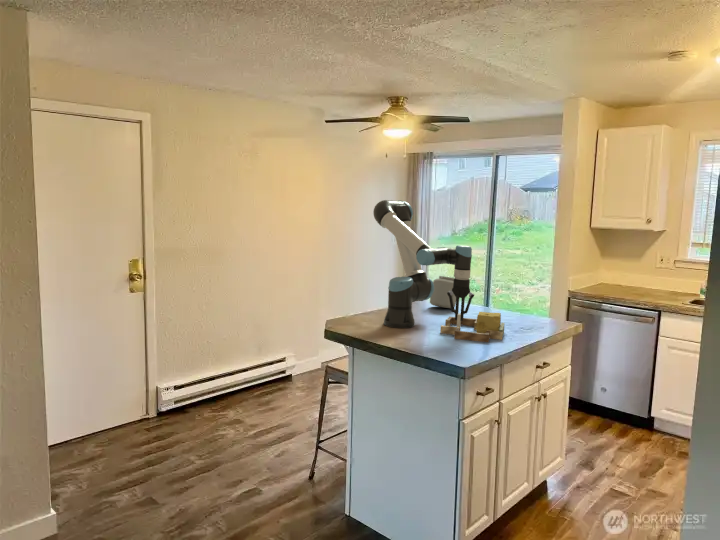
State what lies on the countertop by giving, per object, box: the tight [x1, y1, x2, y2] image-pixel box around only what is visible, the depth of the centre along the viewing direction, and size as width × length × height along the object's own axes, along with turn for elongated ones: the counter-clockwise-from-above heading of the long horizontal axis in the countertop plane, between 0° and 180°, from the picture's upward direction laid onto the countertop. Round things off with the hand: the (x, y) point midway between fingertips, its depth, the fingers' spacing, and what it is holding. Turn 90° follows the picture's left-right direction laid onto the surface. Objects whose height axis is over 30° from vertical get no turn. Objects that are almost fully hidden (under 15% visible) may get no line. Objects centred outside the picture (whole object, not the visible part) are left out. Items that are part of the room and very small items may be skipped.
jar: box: [429, 269, 456, 309], centre depth 310 cm, size 19×15×25 cm
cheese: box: [475, 311, 502, 334], centre depth 250 cm, size 10×11×10 cm
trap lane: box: [440, 316, 505, 343], centre depth 253 cm, size 28×31×4 cm
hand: (458, 327), depth 255 cm, fingers closed
